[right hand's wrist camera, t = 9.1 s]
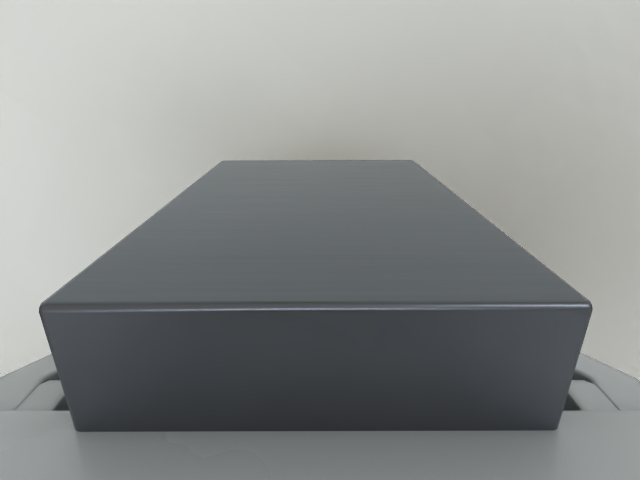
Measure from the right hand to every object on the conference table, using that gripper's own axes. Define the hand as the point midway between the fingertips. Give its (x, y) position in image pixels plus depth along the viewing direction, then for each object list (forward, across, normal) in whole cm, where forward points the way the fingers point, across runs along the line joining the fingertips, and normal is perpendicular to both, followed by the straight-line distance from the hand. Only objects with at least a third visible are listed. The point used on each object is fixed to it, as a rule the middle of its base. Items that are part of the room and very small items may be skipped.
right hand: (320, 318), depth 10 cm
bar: (+3, 0, -9) cm, 10 cm away
